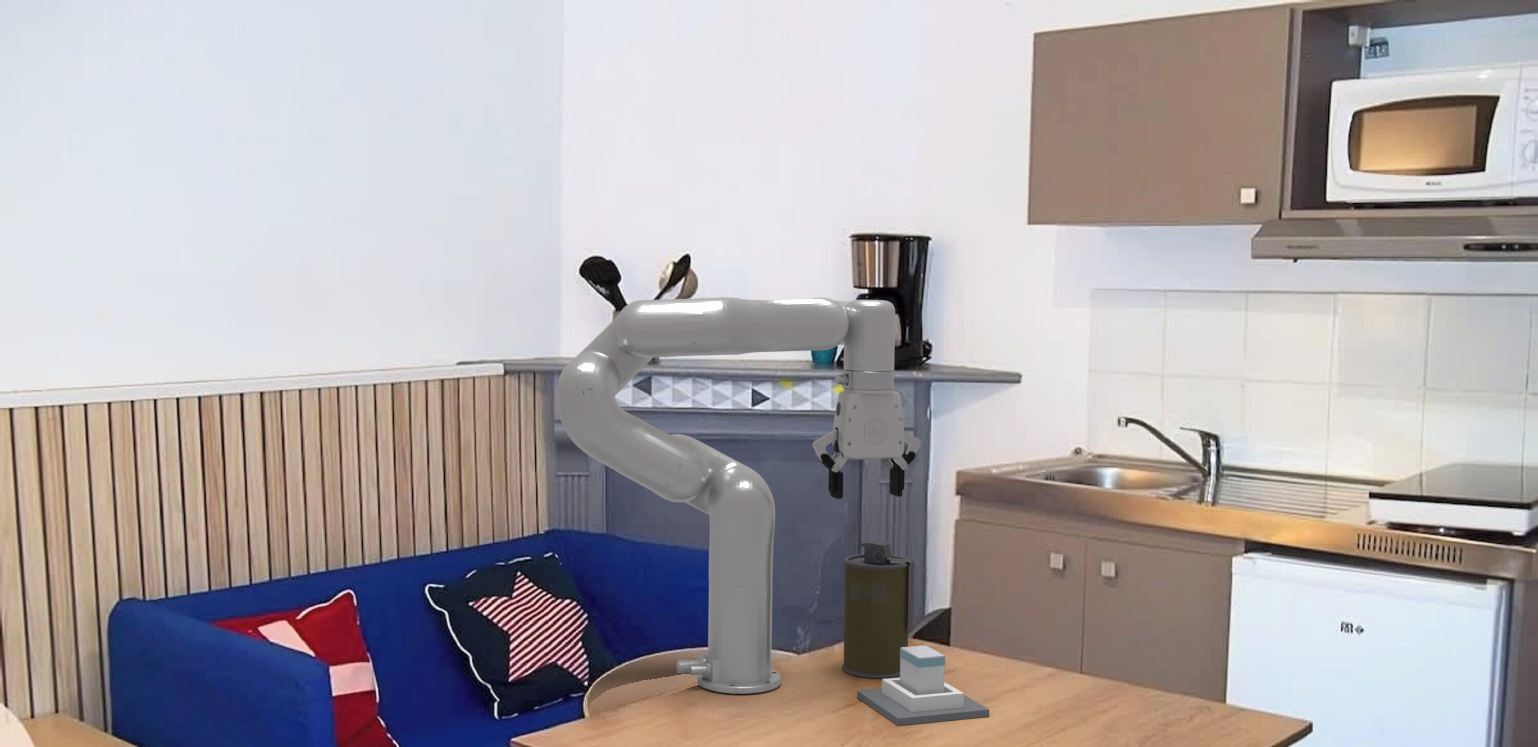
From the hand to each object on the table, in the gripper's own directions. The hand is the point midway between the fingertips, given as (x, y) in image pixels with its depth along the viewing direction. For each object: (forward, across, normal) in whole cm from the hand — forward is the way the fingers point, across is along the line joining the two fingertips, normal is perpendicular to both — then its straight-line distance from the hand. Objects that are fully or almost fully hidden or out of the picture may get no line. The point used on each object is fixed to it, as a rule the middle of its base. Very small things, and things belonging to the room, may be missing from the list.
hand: (866, 496), depth 213 cm
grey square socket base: (+28, +3, -14) cm, 32 cm away
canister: (+28, +5, +6) cm, 30 cm away
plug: (+27, +3, -14) cm, 31 cm away
